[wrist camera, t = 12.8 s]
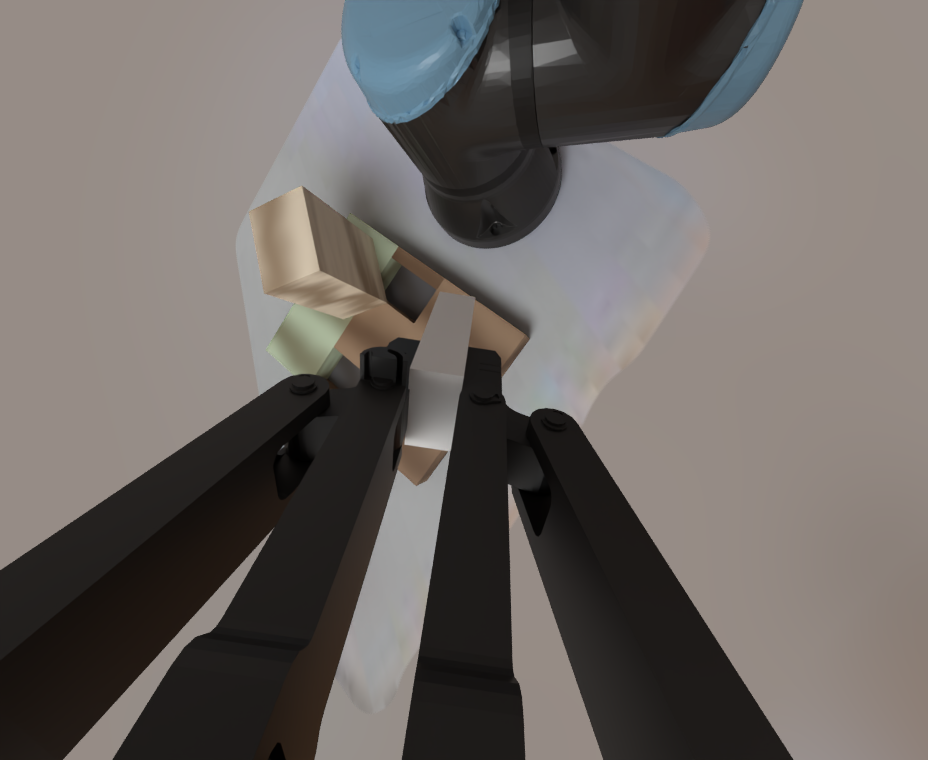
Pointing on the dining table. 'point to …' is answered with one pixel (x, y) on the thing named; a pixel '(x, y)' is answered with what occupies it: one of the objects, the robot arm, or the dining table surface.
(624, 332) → the dining table surface
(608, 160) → the dining table surface
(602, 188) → the dining table surface
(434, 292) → the trap deck
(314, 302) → the beech block
